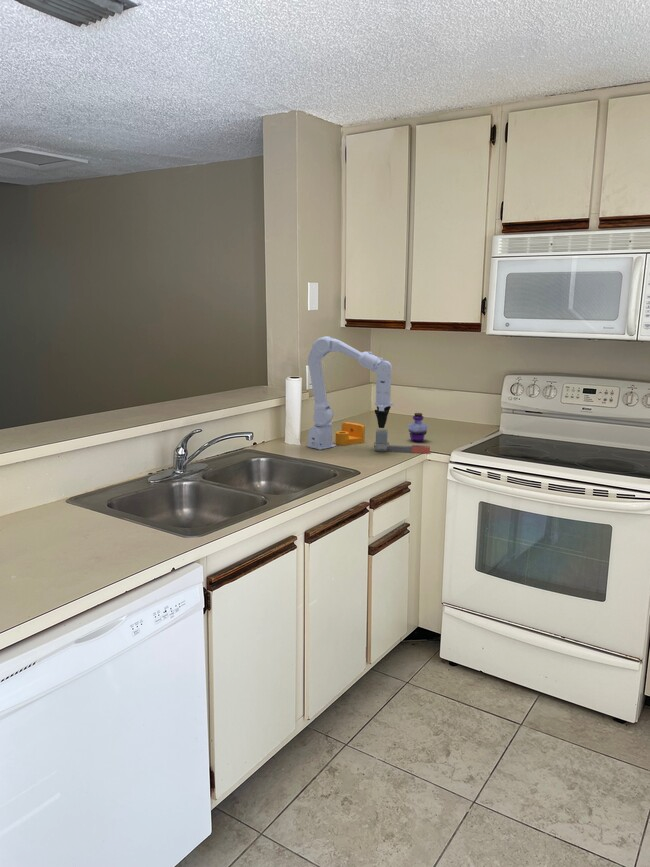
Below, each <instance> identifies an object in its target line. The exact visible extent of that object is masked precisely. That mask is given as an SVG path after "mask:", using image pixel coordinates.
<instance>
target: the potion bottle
mask: <svg viewBox="0 0 650 867" xmlns="http://www.w3.org/2000/svg"><path fill="white" fill-rule="evenodd" d="M412 420H414V422H412V423H408V424H407V429H408V432H409V438H410V442H412V443H418V444H419V443H423V442H424V440H425V437H426V435H427V432H428V428H429V425H428V424H427V423H423V422H422V421H423V420H424V415H423V413H422V412H415V413H414V415H413V416H412Z"/></svg>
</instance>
